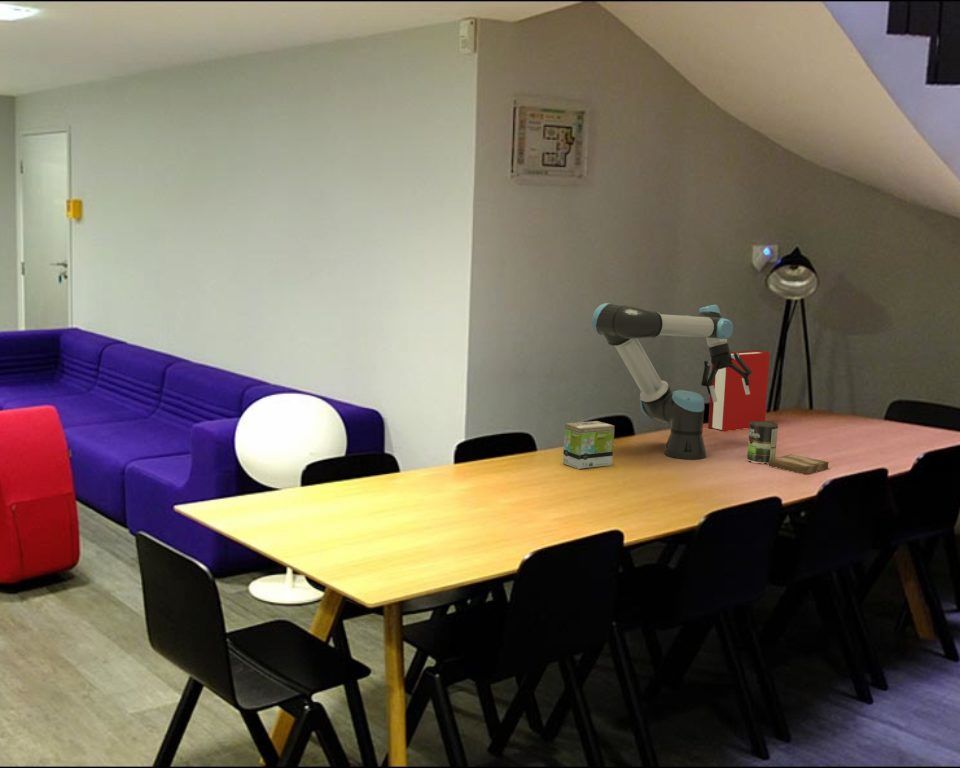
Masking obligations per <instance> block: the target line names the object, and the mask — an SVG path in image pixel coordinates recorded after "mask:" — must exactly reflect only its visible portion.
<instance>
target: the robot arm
mask: <svg viewBox="0 0 960 768" xmlns="http://www.w3.org/2000/svg"><path fill="white" fill-rule="evenodd" d="M698 312H699V313H694V314H693V313H692V314H686V315H679V314H662V313H660V312H658V311H656V310H648V309H644V308H640V307H636V306H634V305H633V306H632V305H625V304H624V305H623V304H616V303H614V302H609V303H608V302H606V303H605V302H604V303H602V304H600V305H599V306H598V307H596V309H595V310H594V312H593V314H592V319H591V325H592V328H593V331H594V332H595V333H596V334H598V335H601V336H603V337H604V338H605V340H606V342H607V344H608V345H609V346H611V347H615V349H616V351H617V353H618V354H619V356H620V357H621V359H622V361H623V363H624V365H625V367H626V368H627V370H628V371H629V374H630V375H631V376H632V379H633V380H634V382H635V383H636V385H637V387H638V388H639V390H640V394H639V401H640V403H639V409H640V410H641V412H642V414H643V415H644V416H646V418H649V419H651V420H654V421H659V422H662V423H667V424H670V434H669V436H668V439H667V441H666V444H665V446H664V455H665V456H666V457H667V456H668V457H670V458H675V459H683V460H699V459H703V458H705V457H707V456H706V455H707V449H706V446H705V441H704V437H703V429H704V428H703V427H704V419H705V418H704V416H705V399H704V396H703V395H702V394H700V393H698V392H695V391H692V390H691V391H688V390H684V389H683V390H682V389H678V390H675V391H673V390H672V389H671V387H670V385H669V383H668V382H667V381H666V380H661V377H660V376H659V374H658V373H657V371H656V369H655V367H654V365H653V364H652V361H651V360H650V358H649V356H648V355H647V353H646V351H645V349H644V348H643V345H642V344H641V342H640V341H639V339H646V338H647V339H648V338H649V339H650V338H651V339H653V338H654V339H655V338H658V337H659V336H669V337H670V336H671V337H688V338H690V337H693V338H694V337H695V338H705V339H706V344H707V346H708V347H709V348H708V351H709V355H710V358H711V359H710V360H704V361H703V364H704V369H703V372H702V373H703V375H702V378H701V379H702V380H701V386H702V387H703V386H704V387H706V389H707V394H709V396H710V394H711V396H712V400H713V403H714V402H717V397H716V393H715V389H714V385H713V386H711V384H712V382H713V380H714V378H715V376H716V373H717V371H718V370H719V369H723V368H727V367H731V368H732V369H733V370H735V371H736V372H737V373H739V374H740V375H741V376H743V378H742V382H743V386H744V390H745V394H746V395H748V394H750V391H749V387H748V385H750V382H749V378H748V376H749V375H751V374H752V371H751V370H750V369H749V368H748V366H747V365H746V364H745V363H744V362H743V360H742V359H741V358H740V355H739V353H735V354H733V355H731V354H730V352H731V350H730V347H729V343H727V342H728V339H729V338H730V337H731V336H732V334H733V331H734V324H733V322H732V321H731V320H729V318H724V317H722V314H721V311H720V308H719V306H718V304H711V305H707V306H703V307H700V308H699V311H698ZM732 358H734V359H735V360H736V361H737V362H738V364H739V365H740V366H741V367H742V368H743V370H744V371H745V372H746V373H745V372H744V371H743V370H741V369H740V368H739V367H737V366H736V365H735V364H734V363H733V362H731V361H732ZM712 364H713V365H714V367H713V369H712V368H711V367H712ZM710 368H711V372H710Z"/></svg>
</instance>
